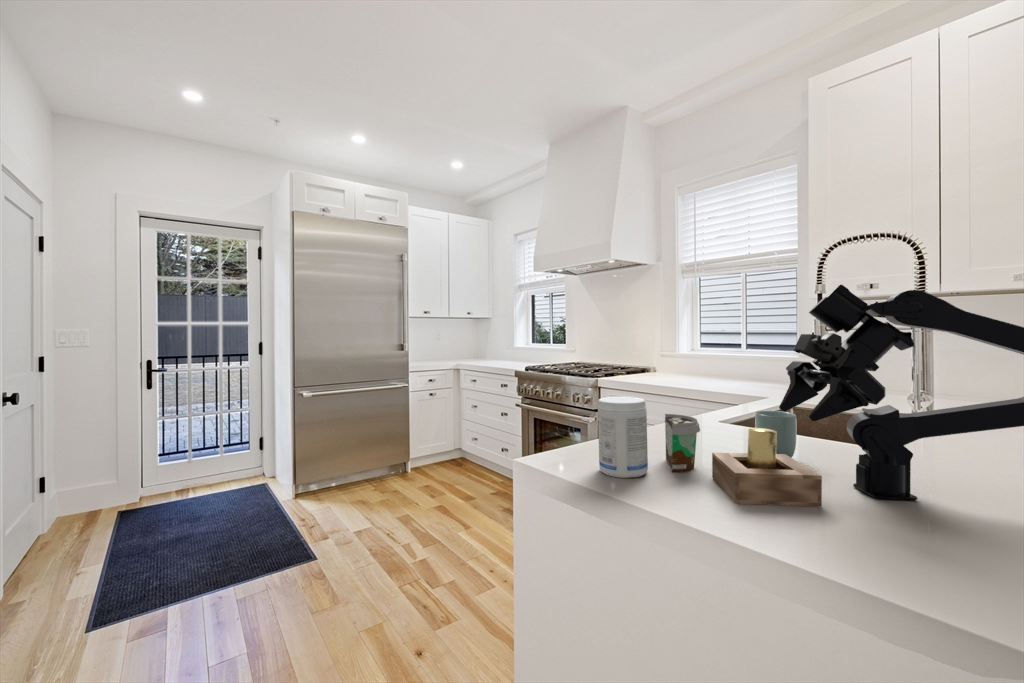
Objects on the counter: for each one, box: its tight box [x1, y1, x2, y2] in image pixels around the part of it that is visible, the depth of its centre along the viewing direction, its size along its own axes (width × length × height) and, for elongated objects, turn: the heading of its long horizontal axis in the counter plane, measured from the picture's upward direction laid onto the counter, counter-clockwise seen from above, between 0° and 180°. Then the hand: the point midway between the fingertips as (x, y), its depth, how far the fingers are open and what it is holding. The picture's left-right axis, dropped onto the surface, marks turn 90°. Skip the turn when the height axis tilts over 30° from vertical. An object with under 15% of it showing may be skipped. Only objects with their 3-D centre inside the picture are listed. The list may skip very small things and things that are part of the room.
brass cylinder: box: [747, 427, 777, 469], centre depth 81 cm, size 4×4×10 cm
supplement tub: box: [597, 396, 649, 479], centre depth 93 cm, size 10×10×15 cm
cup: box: [754, 410, 798, 459], centre depth 101 cm, size 8×8×10 cm
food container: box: [664, 413, 701, 474], centre depth 96 cm, size 12×6×10 cm, turn 168°
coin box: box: [711, 452, 823, 507], centre depth 81 cm, size 13×13×5 cm
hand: (795, 414), depth 80 cm, fingers open, 9 cm apart
